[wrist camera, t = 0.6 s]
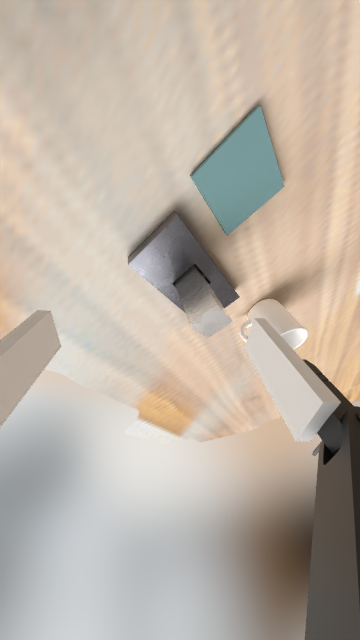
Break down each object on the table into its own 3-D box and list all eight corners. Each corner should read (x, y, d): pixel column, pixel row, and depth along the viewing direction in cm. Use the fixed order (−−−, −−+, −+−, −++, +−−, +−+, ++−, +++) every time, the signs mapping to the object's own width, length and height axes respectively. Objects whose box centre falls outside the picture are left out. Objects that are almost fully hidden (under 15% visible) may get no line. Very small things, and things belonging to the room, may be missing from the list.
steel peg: (171, 276, 35) (190, 324, 26) (190, 260, 34) (217, 304, 24) (186, 290, 38) (207, 338, 28) (203, 275, 36) (232, 321, 27)
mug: (232, 332, 50) (251, 365, 42) (231, 308, 44) (253, 342, 36) (275, 317, 50) (303, 348, 42) (280, 292, 44) (312, 322, 37)
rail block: (127, 257, 31) (128, 264, 29) (174, 210, 28) (177, 215, 26) (197, 318, 43) (200, 325, 42) (234, 290, 40) (239, 297, 39)
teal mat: (190, 175, 25) (191, 176, 25) (256, 106, 22) (260, 105, 22) (225, 233, 32) (227, 235, 31) (280, 185, 29) (284, 186, 28)
